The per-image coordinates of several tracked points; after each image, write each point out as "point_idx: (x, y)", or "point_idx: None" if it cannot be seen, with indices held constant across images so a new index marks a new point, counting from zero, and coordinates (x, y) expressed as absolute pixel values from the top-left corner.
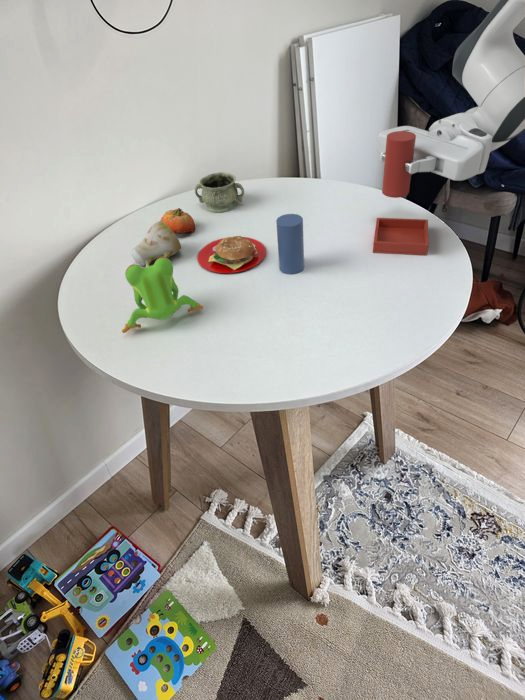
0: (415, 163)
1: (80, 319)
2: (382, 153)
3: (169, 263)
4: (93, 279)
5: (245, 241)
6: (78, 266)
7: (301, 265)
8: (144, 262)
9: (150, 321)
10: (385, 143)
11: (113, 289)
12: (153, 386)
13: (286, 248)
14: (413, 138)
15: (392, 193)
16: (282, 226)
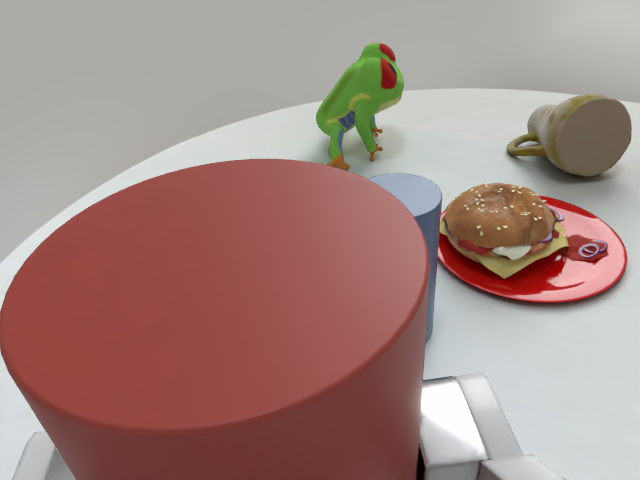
0: (17, 473)
1: (411, 97)
2: (460, 376)
3: (367, 71)
4: (519, 105)
5: (502, 222)
6: (573, 96)
7: None
8: (528, 131)
9: (355, 137)
10: None
11: (474, 117)
12: (222, 130)
13: None
14: (6, 306)
15: None
16: (373, 178)
